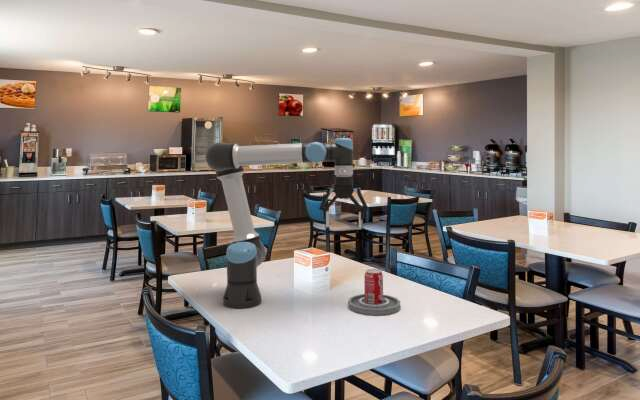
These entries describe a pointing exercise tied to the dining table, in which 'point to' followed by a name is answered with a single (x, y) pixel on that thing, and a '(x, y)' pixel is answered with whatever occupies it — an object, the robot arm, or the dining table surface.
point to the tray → (374, 306)
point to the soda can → (373, 287)
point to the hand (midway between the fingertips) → (343, 227)
